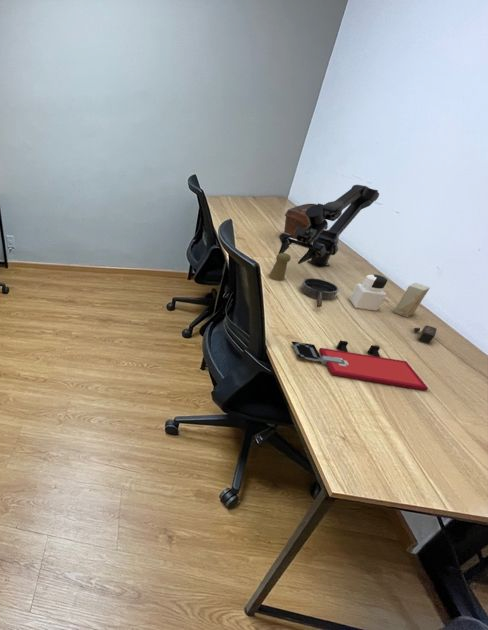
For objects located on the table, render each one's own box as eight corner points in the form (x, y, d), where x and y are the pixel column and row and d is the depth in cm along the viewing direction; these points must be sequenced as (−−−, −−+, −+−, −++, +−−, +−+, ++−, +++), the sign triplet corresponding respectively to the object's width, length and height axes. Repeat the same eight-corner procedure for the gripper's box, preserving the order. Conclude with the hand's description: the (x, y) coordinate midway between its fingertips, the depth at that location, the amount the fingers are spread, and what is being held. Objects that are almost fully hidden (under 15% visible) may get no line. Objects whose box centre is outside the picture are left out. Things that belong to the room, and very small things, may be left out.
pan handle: (316, 294, 133) (318, 290, 132) (321, 295, 132) (322, 291, 131) (315, 307, 124) (317, 303, 124) (320, 308, 124) (322, 304, 123)
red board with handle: (288, 340, 110) (301, 370, 98) (291, 333, 109) (305, 363, 97) (397, 356, 104) (425, 391, 92) (402, 349, 102) (431, 384, 90)
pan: (300, 283, 145) (303, 276, 143) (334, 290, 139) (338, 282, 137) (299, 295, 136) (302, 287, 134) (335, 303, 131) (339, 295, 129)
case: (279, 242, 186) (291, 209, 176) (276, 231, 202) (286, 200, 192) (317, 246, 180) (331, 213, 171) (310, 234, 196) (322, 203, 186)
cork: (282, 281, 146) (290, 258, 140) (267, 277, 150) (275, 254, 144) (285, 277, 150) (294, 253, 144) (270, 273, 153) (278, 250, 147)
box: (406, 317, 122) (423, 290, 116) (392, 312, 125) (408, 285, 119) (413, 313, 124) (430, 287, 118) (399, 308, 127) (415, 282, 121)
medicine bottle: (370, 301, 131) (385, 273, 125) (377, 311, 126) (394, 282, 119) (348, 299, 133) (362, 271, 127) (354, 308, 128) (370, 279, 121)
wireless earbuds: (431, 335, 113) (437, 327, 111) (429, 344, 108) (434, 336, 107) (413, 329, 115) (418, 321, 114) (410, 338, 111) (415, 330, 110)
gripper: (288, 214, 147) (264, 242, 149) (333, 225, 133) (305, 257, 135) (293, 228, 155) (270, 256, 156) (336, 241, 141) (310, 271, 142)
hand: (288, 259), depth 147 cm, fingers open, 9 cm apart
